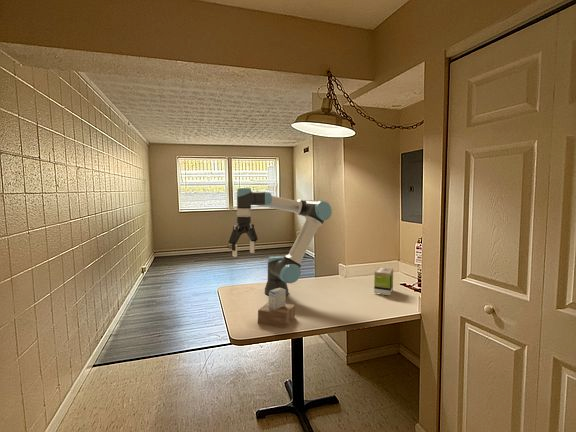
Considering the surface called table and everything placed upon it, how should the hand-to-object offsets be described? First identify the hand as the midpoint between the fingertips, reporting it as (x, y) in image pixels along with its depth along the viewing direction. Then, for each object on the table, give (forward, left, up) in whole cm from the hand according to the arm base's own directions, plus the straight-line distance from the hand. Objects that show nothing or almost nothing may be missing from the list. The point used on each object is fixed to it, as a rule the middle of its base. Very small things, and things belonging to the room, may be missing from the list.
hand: (243, 254), depth 171 cm
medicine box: (+5, +27, -22) cm, 35 cm away
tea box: (-76, +53, -29) cm, 97 cm away
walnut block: (+5, +27, -29) cm, 40 cm away
